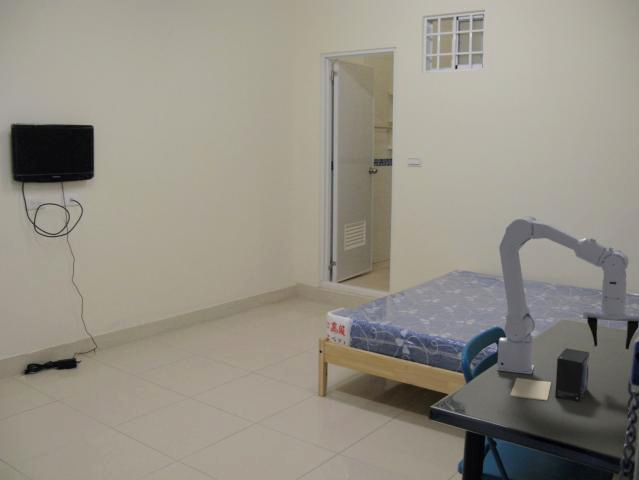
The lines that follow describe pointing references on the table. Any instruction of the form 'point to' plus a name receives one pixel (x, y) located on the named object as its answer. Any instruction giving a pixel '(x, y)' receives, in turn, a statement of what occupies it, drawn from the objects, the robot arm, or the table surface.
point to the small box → (572, 374)
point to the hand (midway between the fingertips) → (611, 346)
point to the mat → (531, 389)
